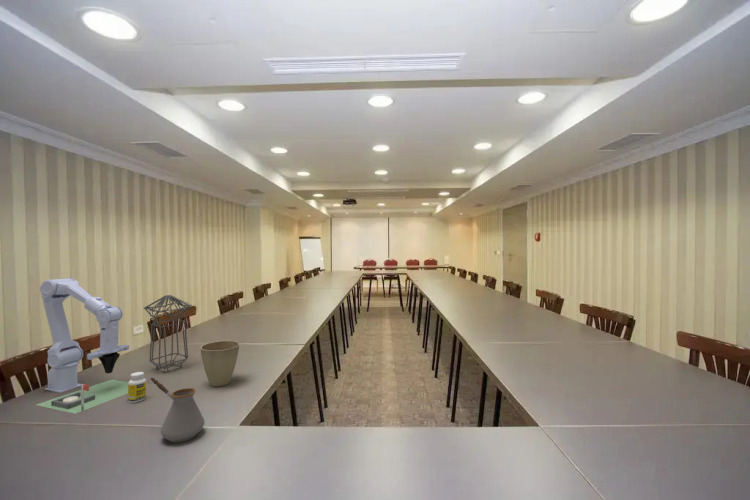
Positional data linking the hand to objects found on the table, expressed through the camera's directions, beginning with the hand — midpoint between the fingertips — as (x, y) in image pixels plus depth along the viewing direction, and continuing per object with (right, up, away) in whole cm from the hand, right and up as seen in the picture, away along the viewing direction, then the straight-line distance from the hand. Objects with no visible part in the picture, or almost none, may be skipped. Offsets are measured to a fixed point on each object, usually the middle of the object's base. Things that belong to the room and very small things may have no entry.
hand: (108, 372), depth 136 cm
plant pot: (+41, -8, +8) cm, 42 cm away
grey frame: (0, -7, -13) cm, 14 cm away
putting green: (-1, -7, -5) cm, 9 cm away
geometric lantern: (+8, -8, +25) cm, 27 cm away
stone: (-4, -7, -13) cm, 15 cm away
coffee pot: (+44, -7, -31) cm, 54 cm away
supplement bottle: (+17, -7, -9) cm, 21 cm away
